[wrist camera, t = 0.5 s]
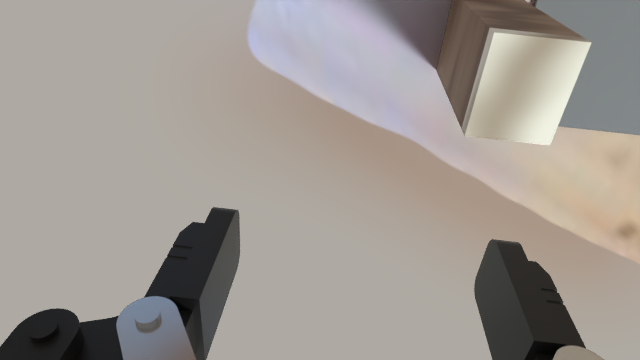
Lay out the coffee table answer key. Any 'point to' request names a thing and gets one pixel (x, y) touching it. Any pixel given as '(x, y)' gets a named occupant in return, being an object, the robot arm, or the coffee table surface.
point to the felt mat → (603, 63)
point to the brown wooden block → (508, 69)
